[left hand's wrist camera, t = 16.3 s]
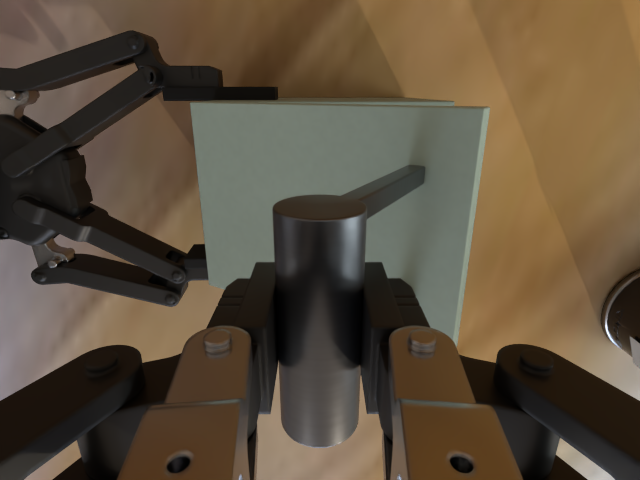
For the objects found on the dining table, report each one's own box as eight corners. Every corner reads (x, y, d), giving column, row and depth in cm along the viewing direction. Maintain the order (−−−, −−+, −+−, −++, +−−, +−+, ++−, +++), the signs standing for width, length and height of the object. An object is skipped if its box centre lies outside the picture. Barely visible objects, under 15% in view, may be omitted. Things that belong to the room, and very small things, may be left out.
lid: (490, 106, 14) (397, 124, 7) (456, 346, 18) (371, 537, 10) (206, 101, 21) (-5, 107, 13) (222, 277, 24) (63, 363, 17)
